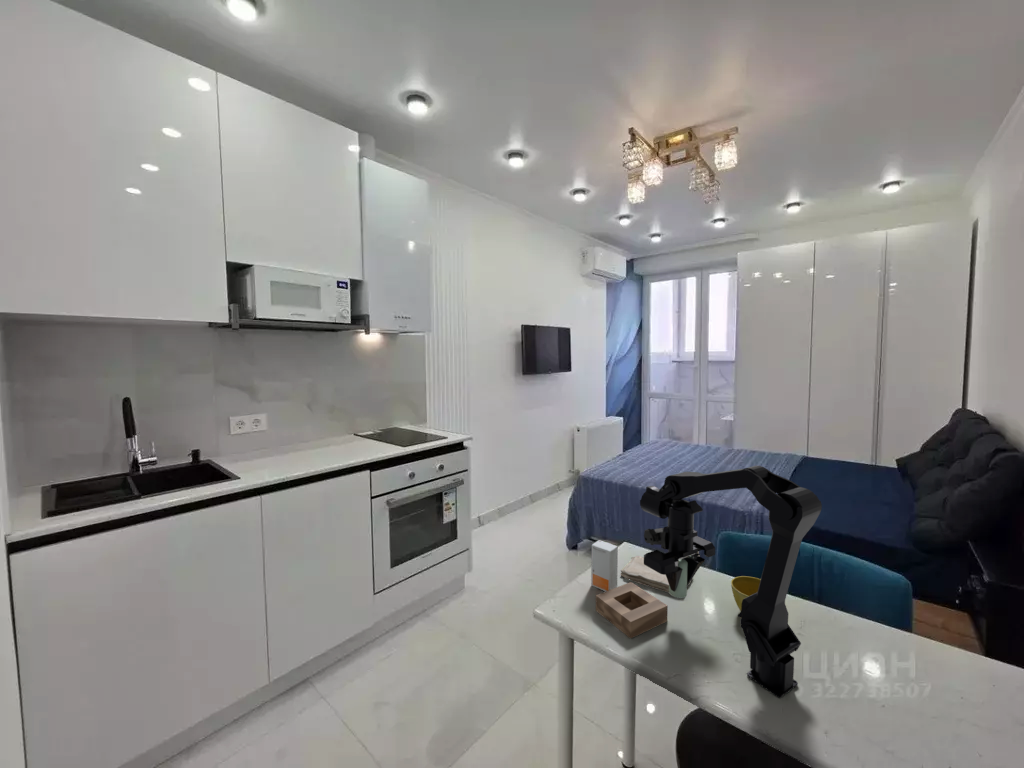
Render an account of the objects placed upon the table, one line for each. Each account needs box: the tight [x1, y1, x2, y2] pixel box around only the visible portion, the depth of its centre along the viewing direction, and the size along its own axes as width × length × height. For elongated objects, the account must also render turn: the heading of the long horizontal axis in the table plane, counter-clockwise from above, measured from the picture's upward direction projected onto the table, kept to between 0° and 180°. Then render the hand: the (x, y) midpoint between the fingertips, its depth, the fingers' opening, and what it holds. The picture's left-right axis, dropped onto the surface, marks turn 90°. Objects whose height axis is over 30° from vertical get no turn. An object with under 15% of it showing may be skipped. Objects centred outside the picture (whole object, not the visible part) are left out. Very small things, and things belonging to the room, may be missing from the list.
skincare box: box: [590, 539, 619, 592], centre depth 117 cm, size 6×4×12 cm
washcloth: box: [620, 555, 693, 594], centre depth 122 cm, size 12×18×3 cm, turn 54°
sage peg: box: [668, 559, 688, 599], centre depth 103 cm, size 4×4×8 cm
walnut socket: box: [595, 581, 669, 639], centre depth 105 cm, size 12×12×4 cm
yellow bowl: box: [730, 575, 761, 612], centre depth 104 cm, size 10×10×7 cm
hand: (679, 588), depth 102 cm, fingers closed on sage peg, 4 cm apart
